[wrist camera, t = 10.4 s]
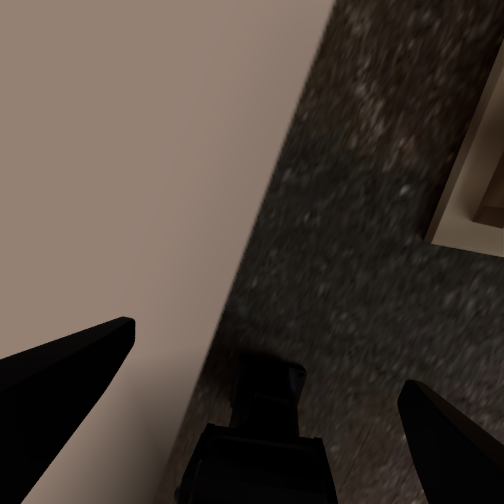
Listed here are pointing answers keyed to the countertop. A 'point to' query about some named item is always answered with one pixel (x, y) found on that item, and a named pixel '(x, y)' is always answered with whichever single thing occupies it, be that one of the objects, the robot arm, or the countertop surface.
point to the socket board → (477, 179)
